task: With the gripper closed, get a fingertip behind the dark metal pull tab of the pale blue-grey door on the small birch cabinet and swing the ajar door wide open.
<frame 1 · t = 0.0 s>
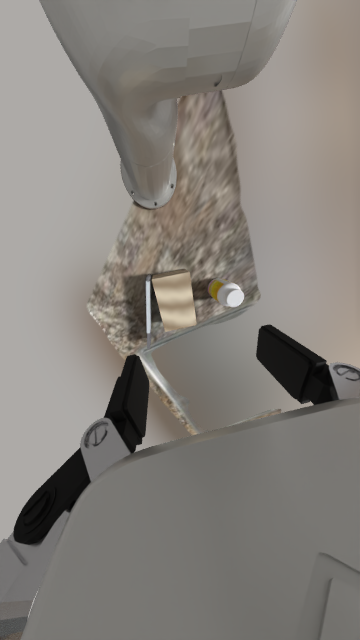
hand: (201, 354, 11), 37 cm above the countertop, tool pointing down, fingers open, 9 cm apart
door: (149, 313, 43), point 4 cm above the countertop, hinge at 15.0°
cabinet: (173, 296, 46), on the countertop
supplement bottle: (216, 287, 47), on the countertop
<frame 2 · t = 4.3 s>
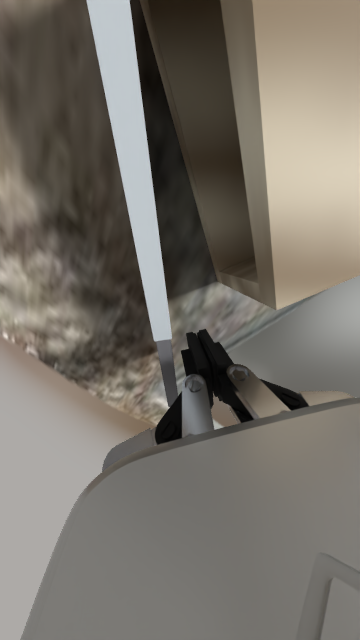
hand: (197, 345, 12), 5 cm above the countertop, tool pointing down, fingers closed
door: (149, 232, 8), point 4 cm above the countertop, hinge at 18.2°, touching gripper
cabinet: (252, 153, 10), on the countertop
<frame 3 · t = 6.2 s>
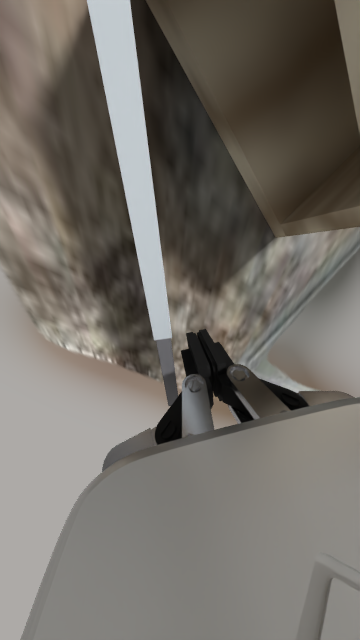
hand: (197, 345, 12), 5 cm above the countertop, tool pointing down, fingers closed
door: (149, 231, 8), point 4 cm above the countertop, hinge at 41.8°, touching gripper
cabinet: (286, 71, 9), on the countertop
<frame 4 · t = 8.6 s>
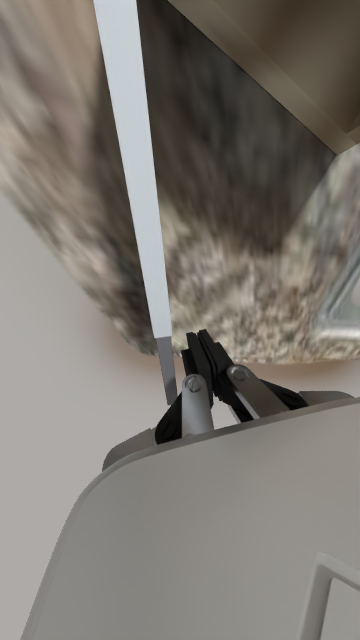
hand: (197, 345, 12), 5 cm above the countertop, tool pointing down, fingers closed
door: (150, 228, 8), point 4 cm above the countertop, hinge at 65.9°, touching gripper
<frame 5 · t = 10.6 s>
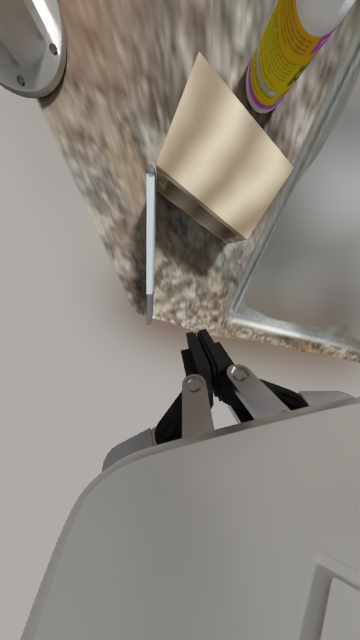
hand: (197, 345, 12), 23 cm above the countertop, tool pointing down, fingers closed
door: (151, 260, 25), point 4 cm above the countertop, hinge at 66.0°
cabinet: (209, 192, 25), on the countertop
supplement bottle: (264, 84, 21), on the countertop
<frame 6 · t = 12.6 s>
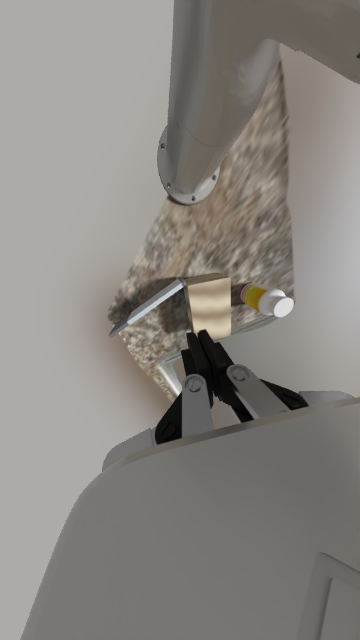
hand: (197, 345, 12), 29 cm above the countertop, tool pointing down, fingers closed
door: (147, 306, 35), point 4 cm above the countertop, hinge at 66.0°
cabinet: (202, 303, 41), on the countertop
supplement bottle: (249, 292, 42), on the countertop
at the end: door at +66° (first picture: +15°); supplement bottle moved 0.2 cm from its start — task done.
